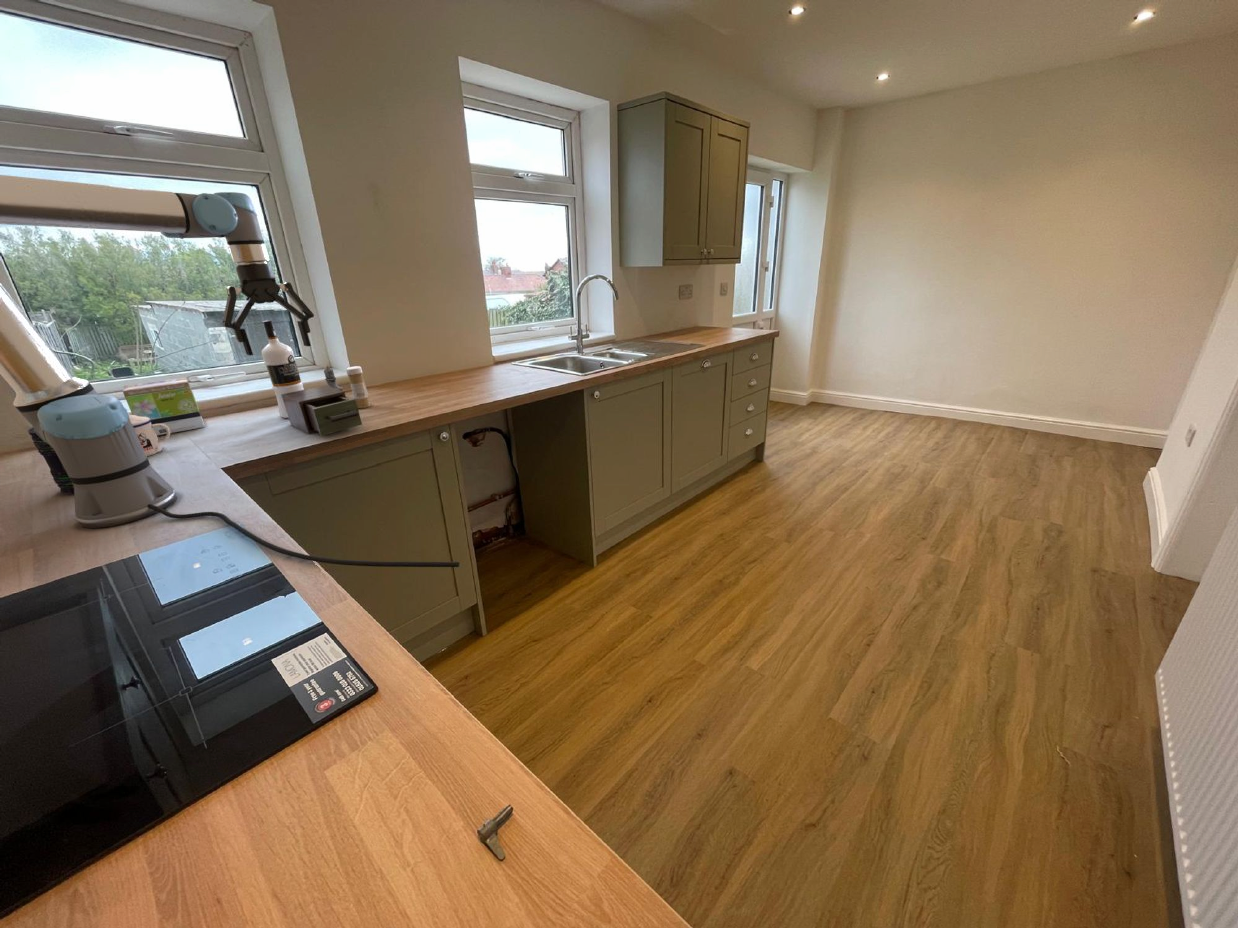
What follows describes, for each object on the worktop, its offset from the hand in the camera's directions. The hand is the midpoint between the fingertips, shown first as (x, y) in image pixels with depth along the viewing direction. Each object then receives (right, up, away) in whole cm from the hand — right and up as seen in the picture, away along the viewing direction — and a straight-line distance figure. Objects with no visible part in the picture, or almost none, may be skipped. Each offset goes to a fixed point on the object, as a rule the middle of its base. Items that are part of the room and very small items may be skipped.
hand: (279, 350), depth 132 cm
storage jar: (-34, -35, -15) cm, 51 cm away
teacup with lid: (-39, -27, +5) cm, 48 cm away
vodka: (-16, -14, +32) cm, 39 cm away
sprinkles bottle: (+3, -11, +37) cm, 39 cm away
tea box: (-48, -20, +23) cm, 57 cm away
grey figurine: (-13, -7, +49) cm, 51 cm away
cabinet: (-2, -17, +22) cm, 28 cm away
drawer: (+7, -19, +15) cm, 25 cm away
